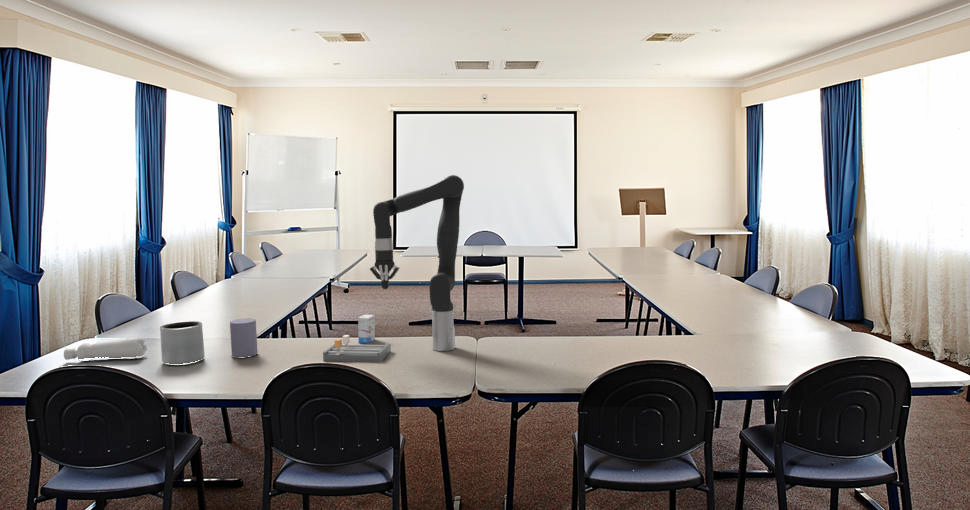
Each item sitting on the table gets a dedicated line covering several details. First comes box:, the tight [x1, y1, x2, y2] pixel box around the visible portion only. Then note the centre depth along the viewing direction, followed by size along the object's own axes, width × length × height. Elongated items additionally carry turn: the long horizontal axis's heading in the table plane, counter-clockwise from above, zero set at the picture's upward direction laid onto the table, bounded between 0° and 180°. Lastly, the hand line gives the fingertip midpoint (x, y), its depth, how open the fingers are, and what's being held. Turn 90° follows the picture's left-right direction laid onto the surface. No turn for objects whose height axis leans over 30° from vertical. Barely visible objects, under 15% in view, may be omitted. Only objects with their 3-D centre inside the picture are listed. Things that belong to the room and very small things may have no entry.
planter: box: [159, 320, 205, 364], centre depth 265 cm, size 16×16×16 cm
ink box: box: [357, 314, 376, 344], centre depth 295 cm, size 9×5×12 cm, turn 168°
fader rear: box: [342, 334, 351, 347], centre depth 274 cm, size 2×3×5 cm, turn 173°
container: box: [229, 318, 259, 357], centre depth 273 cm, size 10×10×15 cm
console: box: [322, 343, 392, 363], centre depth 270 cm, size 24×16×4 cm, turn 83°
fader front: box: [334, 338, 343, 351], centre depth 267 cm, size 2×3×5 cm, turn 173°
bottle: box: [63, 336, 148, 361], centre depth 269 cm, size 9×9×30 cm
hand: (385, 288), depth 276 cm, fingers closed
